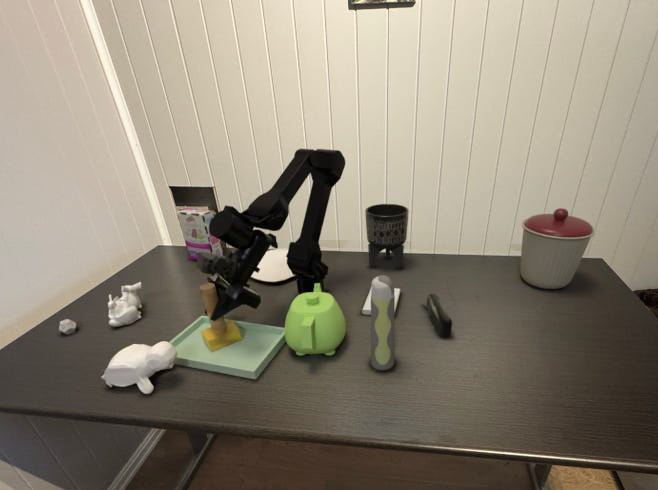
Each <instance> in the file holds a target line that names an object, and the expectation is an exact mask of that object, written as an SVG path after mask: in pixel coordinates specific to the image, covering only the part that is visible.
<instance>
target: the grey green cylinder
mask: <svg viewBox="0 0 658 490" xmlns="http://www.w3.org/2000/svg"><path fill="white" fill-rule="evenodd" d="M371 287H372V290H371V315H370V365H371V366H372V367H373V368H374V369H375V370H377V371H388V370H390V369H391V368H393V366H394V365H395V315H394V307H395V295H394V288H395V285H394V282H393V280H392V279H391V278H390V277H389V276H388V275H384V274H381V275H377V276H375V277H374V278H373V279H372V281H371Z"/></svg>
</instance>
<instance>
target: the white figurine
mask: <svg viewBox="0 0 658 490" xmlns="http://www.w3.org/2000/svg"><path fill="white" fill-rule="evenodd" d="M142 288H143V286H142V282H141V281H139V282H137V283H135V284H132V285H130V284H128V285H121V289H120V291H121V295H122V296H121V297H119V296H118V295H117V296H116V297H115V298H112V294H108V299H109V301H108V302H107V307H108V315H107V316H108V318H109V320H108V325H109V326H111V327H115V328H117V327H122V326H127V325H131V324H133V323H135V322H136V321H138V320H139V319H141V318H142V315H141V314H142V312H141V311H139V309H142V308H143V306H142V304H141V300H140V297H139V296H138V295H137V293H138V292H137V290H140V289H142ZM112 299H113V300H112Z"/></svg>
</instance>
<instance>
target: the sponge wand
mask: <svg viewBox="0 0 658 490" xmlns="http://www.w3.org/2000/svg"><path fill="white" fill-rule="evenodd" d="M199 291H200V295H201V297H202V300H203V305H204V307H205V309H206V311H207V314H208V315H207V314H206V315H207V316H208V317H209V321H210V324H211V327H210V328H207V329H205V330H202V331H201V334H202V338H203V341H204V343H205V344H206V345H207V347H208V348H209V349H210V351H211V352H212V351H215V350H217V349H220V348H222V347H225V346H227V345H230V344H232V343H235V342H237V341H240V340H242V338H241V334H240V330H239V328H238V327H237V326H236V325H235V324H234V323H233V322H232V321H231V320H232V319H229V321H226V322H225V320H224V319H225V317H224V316H225V315H224V316H222V317H220V318H219V319H217V320H216V321H213V320H211V319H210V317H211V315H212V312H213V310H214V308H215V306H216V304H217V302H218V300H219V298H218V295H217V291H216V287H215V284H213V283H209V282H207V283H203V284H202V285H200V286H199Z"/></svg>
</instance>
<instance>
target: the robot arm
mask: <svg viewBox="0 0 658 490" xmlns="http://www.w3.org/2000/svg"><path fill="white" fill-rule="evenodd" d="M345 167H346V158H345V156H344V155H343V152H342V151H340V150H337V149H326V148H317V149H313V148H312V149H311V148H299V149H296V150H295V152H294V155H293V158H292V159H291V161H290V162H289V163H288V165H287V166H286V167H285V169H283V171H282V173H281V174H280V175H279V177H278V179H277V180H276V182H274V184H273V185H272V187H271V188H270V189H269V190H267V191H266V192H264V193H262V194H260V195H258V196H257V197H256V198H255V199H253V201H252V202H251V203H250V204H249V205H248V207H247V208H246V209H244V210H243V211H241V212H239V210H238V209H237V208H235V207H234V206H231V205H224V208H223V209H222V210H221V211H218V212H216V214H214V217H213V218H212V219H211V221H210V224H209V232H210V234H211V235H212V236H214V237H216V238H217V239H219V240H220V242H222V243H224V244H226V245H228V246H229V247H232V248H233V249H234V250H233V251H232V250H228V251H227V252H226V253H225V255H224V256H222V255H218V254H212V253H205V252H199V255H198V260H196V265H195V267H196V268H197V269H199V270H200V272H201V273H202V274H206V275H211V276H210V277H208V276H206V280H207V283H213V284H215V287H216V291H217V295H218V298H219V300H218V302H217V304H216V306H215V308H214V310H213V312H212V315H211V317H210V319H211V320H213V321H216V320H217V319H219V318H220V317H222V316H225V315H227V314H229V313H230V312H232V311H233V310H235V309H237V308H239V307H241V306H243V305H244V306H248V307H250V308H252V309H254V310H257V309H258V308H259V306H260V304H261V303H262V298H261V296H260V295H259V294H258V293H257V292H255V291H254V290H253V289H251V288H250V286H251V284H250V283H249V281H250V279H251V276H252V274H253V273H254V271H255V272H257V273H258V272H259V271H260V268H258V267H257V266H258V265H259V263H260V261H261V260H262V258H263V257H264V255H265V253H266V252H267V251H269V248H271V247H272V248H274V249H279V244H278V242H277V236H276V235H275V234H273V233H271V232H278V231H280V230H281V229H283V226H284V225H285V224H286V223H285V222H286V220H287V218H288V216H290V215H289V214H290V204H291V202H292V201H293V199H294V198H295V196H296V195H297V193H298V192H299V190H301V189H300V188H301V187H302V186H303V185H304V183H305V181H306V180H307V179H308V177H309V175H310V176H311V180H312V184H311V188H310V193H309V196H308V201H307V206H306V210H305V213H304V214H305V215H304V218H303V221H302V227H301V231H300V235H299V237H298V239H296V240H295V241H290V242H289V245H288V249H289V250H288V253H287V255H286V257H287V265H288V267H289V269H290V270H291V272H292V274H293V275H296V277H297V278H296V281H295V282H296V288H297V293H298V295H300V294H302V293H309V292H314V285H315V283H320V286H321V290H322V292H324V293H327V292H328V289H327V288H325V280H324V279H326V276H328V274H329V266H328V265H327V264H326V263H324V262H323V261H322V256H323V253H322V250H321V245H320V238H321V234H322V230H323V225H324V222H325V217H326V214H327V210H328V205H329V201H330V197H331V193H332V189H333V187H334V186H335V185H336V184H337V183H338V182H339V181H340V180H341V178H342V176H343V173H344V169H345ZM254 228H256V229H254ZM263 230H266V231H270V233H269V232H268V233H266V232H264V231H263ZM204 314H205V315H206V316H208V314H207V311H206V308H205V310H204Z"/></svg>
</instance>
